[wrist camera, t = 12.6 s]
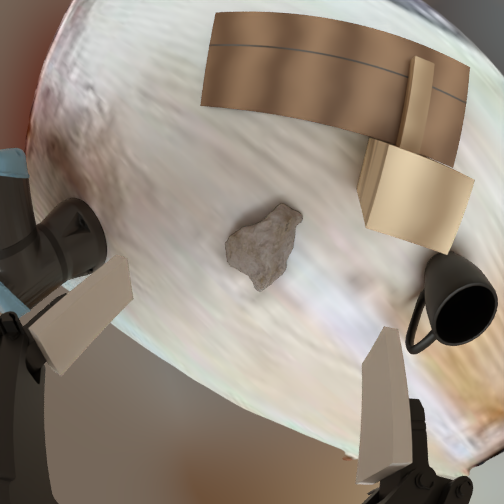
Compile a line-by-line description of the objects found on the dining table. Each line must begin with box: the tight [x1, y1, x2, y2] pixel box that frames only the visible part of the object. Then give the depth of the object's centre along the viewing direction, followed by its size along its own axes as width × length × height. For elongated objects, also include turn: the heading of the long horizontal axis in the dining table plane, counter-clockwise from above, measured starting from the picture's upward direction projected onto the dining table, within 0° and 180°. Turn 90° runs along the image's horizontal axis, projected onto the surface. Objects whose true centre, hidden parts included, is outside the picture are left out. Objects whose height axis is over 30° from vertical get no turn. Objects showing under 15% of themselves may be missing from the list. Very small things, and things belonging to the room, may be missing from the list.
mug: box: [405, 251, 498, 354], centre depth 25 cm, size 8×12×10 cm
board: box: [200, 12, 470, 168], centre depth 22 cm, size 28×12×2 cm, turn 82°
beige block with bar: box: [357, 56, 475, 255], centre depth 18 cm, size 7×16×12 cm, turn 172°
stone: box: [225, 204, 303, 292], centre depth 31 cm, size 10×8×6 cm
